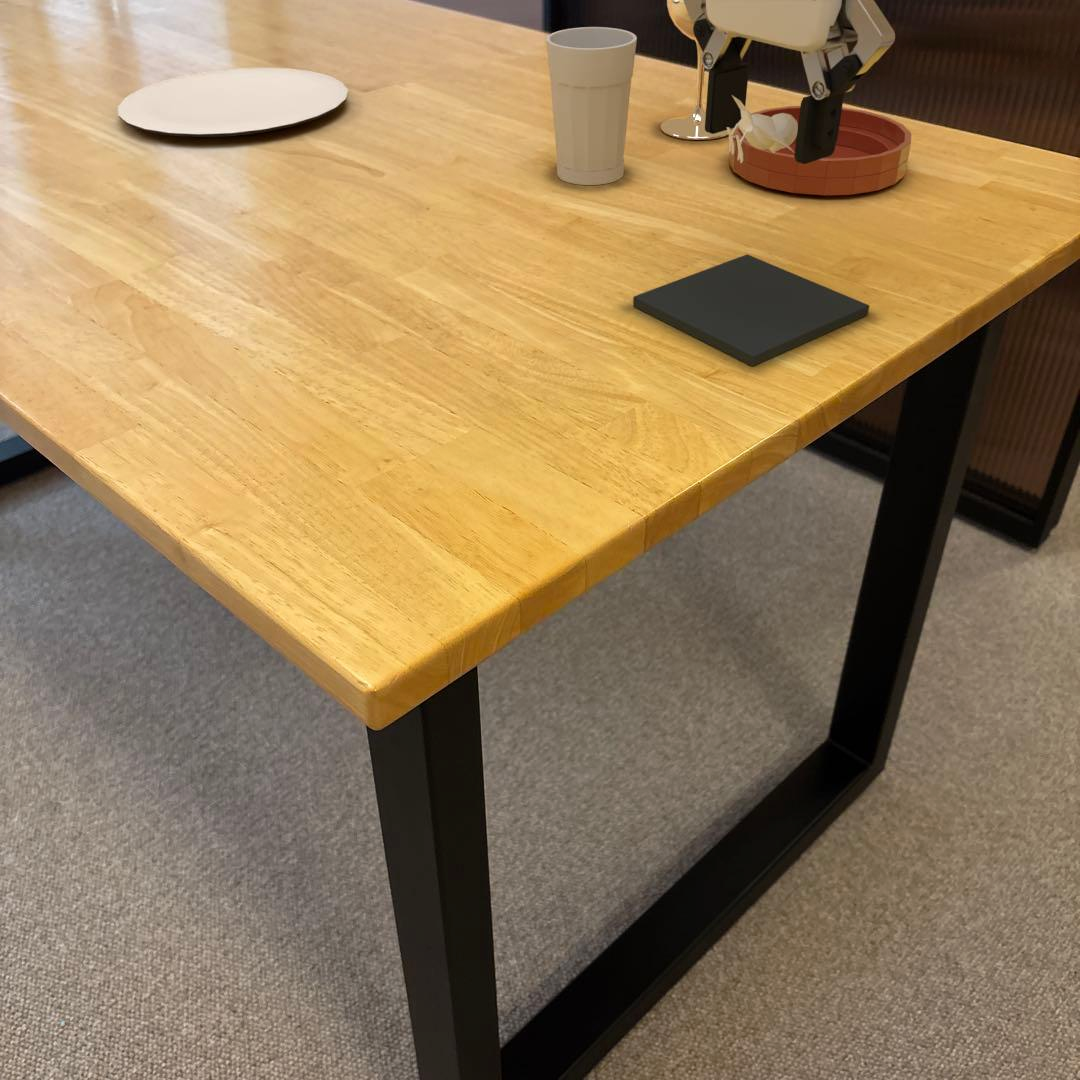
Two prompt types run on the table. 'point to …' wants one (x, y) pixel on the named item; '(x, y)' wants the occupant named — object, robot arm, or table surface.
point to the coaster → (750, 308)
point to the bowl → (831, 157)
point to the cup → (590, 101)
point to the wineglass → (695, 123)
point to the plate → (232, 102)
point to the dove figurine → (763, 131)
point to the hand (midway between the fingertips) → (767, 141)
